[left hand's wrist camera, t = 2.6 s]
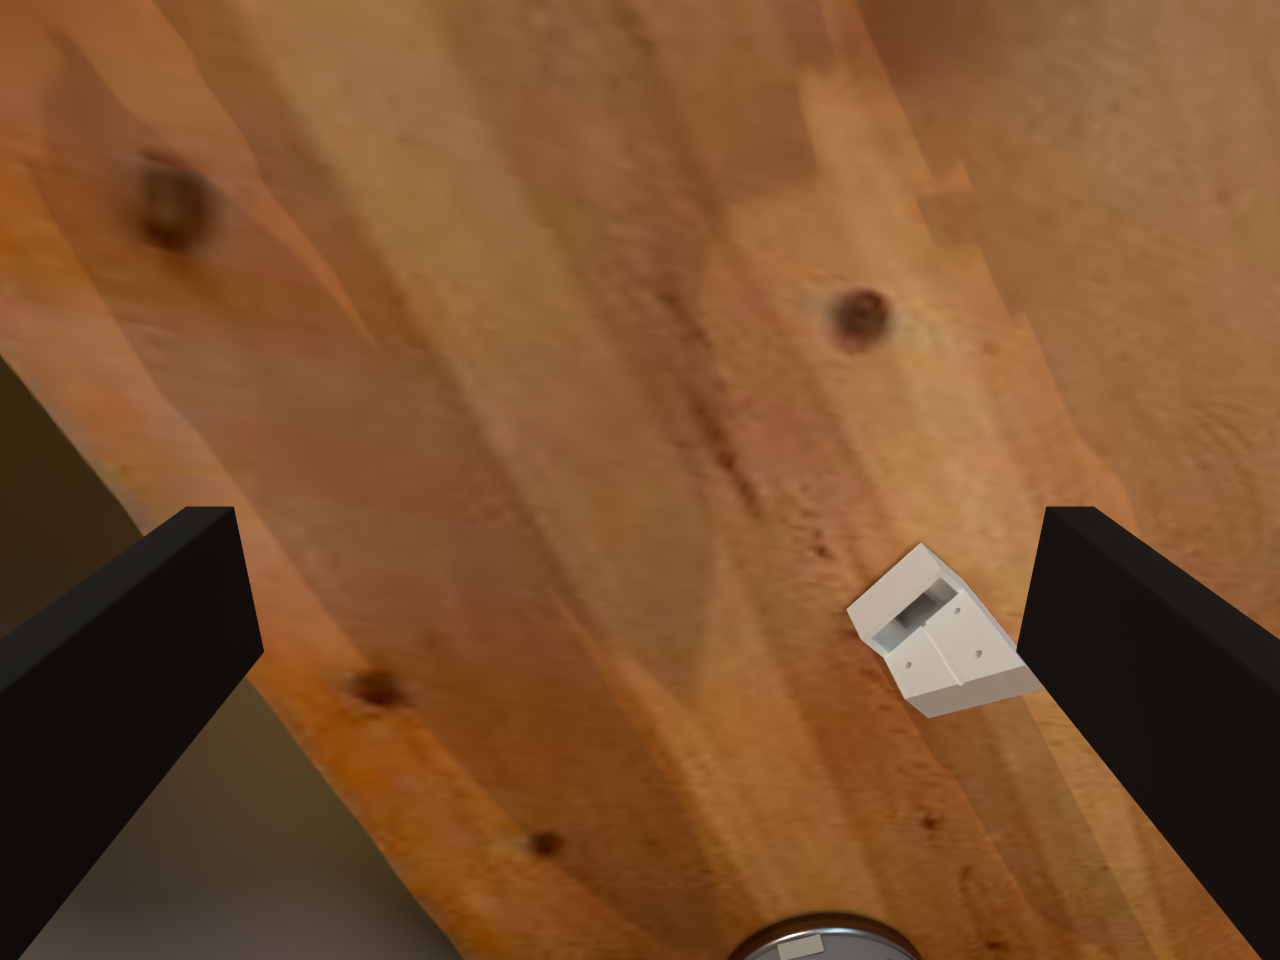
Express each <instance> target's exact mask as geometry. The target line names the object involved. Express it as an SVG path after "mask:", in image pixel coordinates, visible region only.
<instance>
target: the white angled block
mask: <svg viewBox="0 0 1280 960" xmlns="http://www.w3.org/2000/svg"><path fill="white" fill-rule="evenodd" d="M847 611H848V614H849V616H850V618H851V620H852V622H853V624H854V626H855V628H856V630H857V632H858V634H859V636H860V638H861V640H862V641H863V642H865V643H866V644H867V645H868V646H870V647H871V648H872V649H873V650H874V651H876V652H877V653H878V654H879V655H881V656H882V657H883V658H884V660H885V662H886V664H887V666H888V668H889V669H890V671H891V673H892V675H893V677H894V679H895V681H896V683H897V685H898V687H899V689H900V691H901V693H902V695H903V697H904V699H905V700H906V701H908V702H909V703H910V704H911V705H913V706H914V707H915V708H916V709H918V710H919V711H920V712H921V713H923V714H924V715H925V716H926V717H928V718H932V717H936V716H940V715H944V714H947V713H951V712H955V711H959V710H963V709H967V708H971V707H975V706H979V705H983V704H987V703H991V702H995V701H999V700H1003V699H1007V698H1011V697H1015V696H1019V695H1023V694H1027V693H1031V692H1035V691H1039V690H1043V689H1045V688H1044V686H1043V685H1042V684H1041V683H1040V681H1039V680H1038V679H1037V678H1036V676H1035V675H1034V674H1033V673H1032V671H1031V670H1030V669H1029V668H1028V666H1027V665H1026V664H1025V663H1024V661H1023V660H1022V659H1021V658H1020V656H1019V655H1018V654H1017V652H1016V649H1017V646H1016V645H1015V643H1014V642H1013V641H1012V640H1011V638H1010V637H1009V636H1008V635H1007V633H1006V632H1005V631H1004V630H1003V629H1002V627H1001V626H1000V625H999V624H998V622H997V621H996V620H995V619H994V617H993V616H992V615H991V614H990V612H989V611H988V610H987V609H986V608H985V606H984V605H983V604H982V603H981V601H980V600H979V599H978V598H977V596H976V595H975V594H974V593H973V592H972V590H971V589H970V588H969V587H968V585H967V584H966V583H965V582H964V580H963V579H962V578H960V577H959V576H958V575H957V574H956V573H955V572H954V571H952V570H951V569H950V568H949V567H948V566H947V565H946V564H945V563H943V562H942V561H941V560H940V559H939V558H938V557H937V556H936V555H934V554H933V553H932V552H931V551H930V550H929V549H928V548H927V547H925V546H924V545H923V544H922V543H920V544H918V545H917V546H916V547H915V548H914V549H913V550H912V551H911V552H910V553H908V554H907V555H906V556H905V557H904V558H903V559H902V560H901V561H900V562H898V563H897V564H896V565H895V566H894V567H893V568H892V569H891V570H890V571H888V572H887V573H886V574H885V575H884V576H883V577H882V578H881V579H880V580H879V581H877V582H876V583H875V584H874V585H873V586H872V587H871V588H870V589H869V590H867V591H866V592H865V593H864V594H863V595H862V596H861V597H860V598H859V599H857V600H856V601H855V602H854V603H853V604H852V605H851V606H850V607H849V608H847Z"/></svg>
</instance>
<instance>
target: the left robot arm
mask: <svg viewBox="0 0 1280 960" xmlns="http://www.w3.org/2000/svg"><path fill="white" fill-rule="evenodd" d="M263 652H264V649H263V644H262V639H261V635H260V630H259V625H258V620H257V616H256V611H255V606H254V601H253V596H252V592H251V587H250V582H249V577H248V573H247V568H246V563H245V558H244V553H243V549H242V544H241V539H240V534H239V530H238V525H237V520H236V515H235V510H234V507H185V508H184V509H182V510H181V511H179V512H178V513H177V514H175V515H174V516H172V517H171V518H170V519H168V520H167V521H165V522H164V523H163V524H161V525H160V526H158V527H157V528H156V529H154V530H153V531H151V532H150V533H149V534H147V535H146V536H145V537H143V538H142V539H140V540H139V541H138V542H136V543H135V544H133V545H132V546H131V547H129V548H128V549H126V550H125V551H124V552H122V553H121V554H119V555H118V556H117V557H115V558H114V559H112V560H111V561H110V562H108V563H107V564H105V565H104V566H103V567H101V568H100V569H98V570H97V571H96V572H94V573H93V574H91V575H90V576H89V577H87V578H86V579H84V580H83V581H82V582H80V583H79V584H78V585H76V586H75V587H73V588H72V589H71V590H69V591H68V592H66V593H65V594H64V595H62V596H61V597H59V598H58V599H57V600H55V601H54V602H52V603H51V604H50V605H48V606H47V607H45V608H44V609H43V610H41V611H40V612H38V613H37V614H36V615H34V616H33V617H31V618H30V619H29V620H27V621H26V622H24V623H23V624H22V625H20V626H19V627H17V628H16V629H15V630H13V631H12V632H10V633H9V634H8V635H6V636H5V637H4V638H2V639H1V640H0V960H18V959H19V958H20V956H21V955H22V954H23V953H24V951H25V950H26V949H27V948H28V946H29V945H30V944H31V943H32V941H33V940H34V939H35V938H36V936H37V935H38V934H39V933H40V931H41V930H42V929H43V928H44V926H45V925H46V924H47V923H48V921H49V920H50V919H51V918H52V916H53V915H54V914H55V913H56V911H57V910H58V909H59V908H60V906H61V905H62V904H63V903H64V901H65V900H66V899H67V898H68V896H69V895H70V894H71V893H72V891H73V890H74V889H75V888H76V886H77V885H78V884H79V883H80V881H81V880H82V879H83V878H84V876H85V875H86V874H87V873H88V871H89V870H90V869H91V868H92V866H93V865H94V864H95V863H96V861H97V860H98V859H99V858H100V856H101V855H102V854H103V853H104V851H105V850H106V849H107V848H108V846H109V845H110V844H111V843H112V841H113V840H114V839H115V838H116V836H117V835H118V834H119V833H120V831H121V830H122V829H123V828H124V826H125V825H126V824H127V823H128V821H129V820H130V819H131V818H132V816H133V815H134V814H135V813H136V811H137V810H138V809H139V808H140V806H141V805H142V804H143V803H144V801H145V800H146V799H147V798H148V796H149V795H150V794H151V792H152V791H153V790H154V789H155V788H156V786H157V785H158V784H159V782H160V781H161V780H162V779H163V778H164V776H165V775H166V774H167V772H168V771H169V770H170V769H171V768H172V766H173V765H174V764H175V763H176V761H177V760H178V759H179V758H180V756H181V755H182V754H183V753H184V751H185V750H186V749H187V748H188V746H189V745H190V744H191V743H192V741H193V740H194V739H195V737H196V736H197V735H198V734H199V733H200V731H201V730H202V729H203V727H204V726H205V725H206V724H207V722H208V721H209V720H210V719H211V718H212V716H213V715H214V714H215V713H216V711H217V710H218V709H219V708H220V706H221V705H222V704H223V703H224V701H225V700H226V699H227V698H228V696H229V695H230V694H231V692H232V691H233V690H234V689H235V688H236V686H237V685H238V684H239V683H240V681H241V680H242V679H243V678H244V676H245V675H246V674H247V673H248V671H249V670H250V669H251V668H252V666H253V665H254V664H255V663H256V661H257V660H258V659H259V657H260V656H261V655H262V654H263ZM1016 652H1017V654H1018V655H1019V656H1020V658H1021V659H1022V660H1023V661H1024V663H1025V664H1026V665H1027V666H1028V668H1029V669H1030V670H1031V671H1032V673H1033V674H1034V675H1035V676H1036V678H1037V679H1038V680H1039V681H1040V683H1041V684H1042V685H1043V686H1044V688H1045V689H1046V690H1047V691H1048V693H1049V694H1050V695H1051V696H1052V698H1053V699H1054V700H1055V701H1056V703H1057V704H1058V705H1059V706H1060V708H1061V709H1062V710H1063V711H1064V713H1065V714H1066V715H1067V716H1068V718H1069V719H1070V720H1071V721H1072V723H1073V724H1074V725H1075V726H1076V728H1077V729H1078V730H1079V731H1080V733H1081V734H1082V735H1083V736H1084V738H1085V739H1086V740H1087V741H1088V743H1089V744H1090V745H1091V746H1092V748H1093V749H1094V750H1095V751H1096V753H1097V754H1098V755H1099V756H1100V758H1101V759H1102V760H1103V761H1104V763H1105V764H1106V765H1107V766H1108V768H1109V769H1110V770H1111V771H1112V773H1113V774H1114V775H1115V776H1116V778H1117V779H1118V780H1119V781H1120V783H1121V784H1122V785H1123V786H1124V788H1125V789H1126V790H1127V791H1128V793H1129V794H1130V795H1131V796H1132V798H1133V799H1134V800H1135V801H1136V803H1137V804H1138V805H1139V806H1140V808H1141V809H1142V810H1143V811H1144V813H1145V814H1146V815H1147V816H1148V818H1149V819H1150V820H1151V821H1152V823H1153V824H1154V825H1155V826H1156V828H1157V829H1158V830H1159V831H1160V833H1161V834H1162V835H1163V836H1164V838H1165V839H1166V840H1167V841H1168V843H1169V844H1170V845H1171V846H1172V848H1173V849H1174V850H1175V851H1176V853H1177V854H1178V855H1179V856H1180V858H1181V859H1182V860H1183V861H1184V863H1185V864H1186V865H1187V866H1188V868H1189V869H1190V870H1191V871H1192V873H1193V874H1194V875H1195V876H1196V878H1197V879H1198V880H1199V881H1200V883H1201V884H1202V885H1203V886H1204V888H1205V889H1206V890H1207V891H1208V893H1209V894H1210V895H1211V896H1212V898H1213V899H1214V900H1215V901H1216V903H1217V904H1218V905H1219V906H1220V908H1221V909H1222V910H1223V911H1224V913H1225V914H1226V915H1227V916H1228V918H1229V919H1230V920H1231V921H1232V923H1233V924H1234V925H1235V926H1236V928H1237V929H1238V930H1239V931H1240V933H1241V934H1242V935H1243V936H1244V938H1245V939H1246V940H1247V941H1248V943H1249V944H1250V945H1251V946H1252V948H1253V949H1254V950H1255V951H1256V953H1257V954H1258V955H1259V956H1260V958H1261V959H1262V960H1280V640H1279V639H1278V638H1276V637H1275V636H1274V635H1272V634H1271V633H1270V632H1268V631H1267V630H1265V629H1264V628H1263V627H1261V626H1260V625H1258V624H1257V623H1256V622H1254V621H1253V620H1251V619H1250V618H1249V617H1247V616H1246V615H1244V614H1243V613H1242V612H1240V611H1239V610H1237V609H1236V608H1235V607H1233V606H1232V605H1230V604H1229V603H1228V602H1226V601H1225V600H1223V599H1222V598H1221V597H1219V596H1218V595H1216V594H1215V593H1214V592H1212V591H1211V590H1209V589H1208V588H1207V587H1205V586H1204V585H1202V584H1201V583H1200V582H1198V581H1197V580H1196V579H1194V578H1193V577H1191V576H1190V575H1189V574H1187V573H1186V572H1184V571H1183V570H1182V569H1180V568H1179V567H1177V566H1176V565H1175V564H1173V563H1172V562H1170V561H1169V560H1168V559H1166V558H1165V557H1163V556H1162V555H1161V554H1159V553H1158V552H1156V551H1155V550H1154V549H1152V548H1151V547H1149V546H1148V545H1147V544H1145V543H1144V542H1142V541H1141V540H1140V539H1138V538H1137V537H1135V536H1134V535H1133V534H1131V533H1130V532H1129V531H1127V530H1126V529H1124V528H1123V527H1122V526H1120V525H1119V524H1117V523H1116V522H1115V521H1113V520H1112V519H1110V518H1109V517H1108V516H1106V515H1105V514H1103V513H1102V512H1101V511H1099V510H1098V509H1096V508H1095V507H1046V510H1045V515H1044V520H1043V525H1042V530H1041V534H1040V539H1039V544H1038V549H1037V553H1036V558H1035V563H1034V568H1033V573H1032V577H1031V582H1030V587H1029V592H1028V596H1027V601H1026V606H1025V611H1024V615H1023V620H1022V625H1021V630H1020V635H1019V639H1018V644H1017V649H1016ZM728 960H922V959H921V957H920V955H919V953H918V952H917V950H916V949H915V947H914V946H913V945H912V944H911V943H910V942H909V941H908V940H907V939H906V938H905V937H904V936H903V935H901V934H900V933H898V932H897V931H896V930H894V929H892V928H890V927H889V926H887V925H884V924H882V923H880V922H877V921H874V920H872V919H868V918H864V917H860V916H855V915H848V914H834V913H827V914H813V915H806V916H800V917H796V918H792V919H788V920H785V921H782V922H779V923H776V924H774V925H772V926H769V927H767V928H765V929H763V930H761V931H759V932H758V933H756V934H755V935H753V936H751V937H750V938H749V939H747V940H746V941H745V942H744V943H742V944H741V945H740V946H739V947H738V948H737V949H736V950H735V951H734V952H733V953H732V955H731V956H730V957H729V959H728Z"/></svg>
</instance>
